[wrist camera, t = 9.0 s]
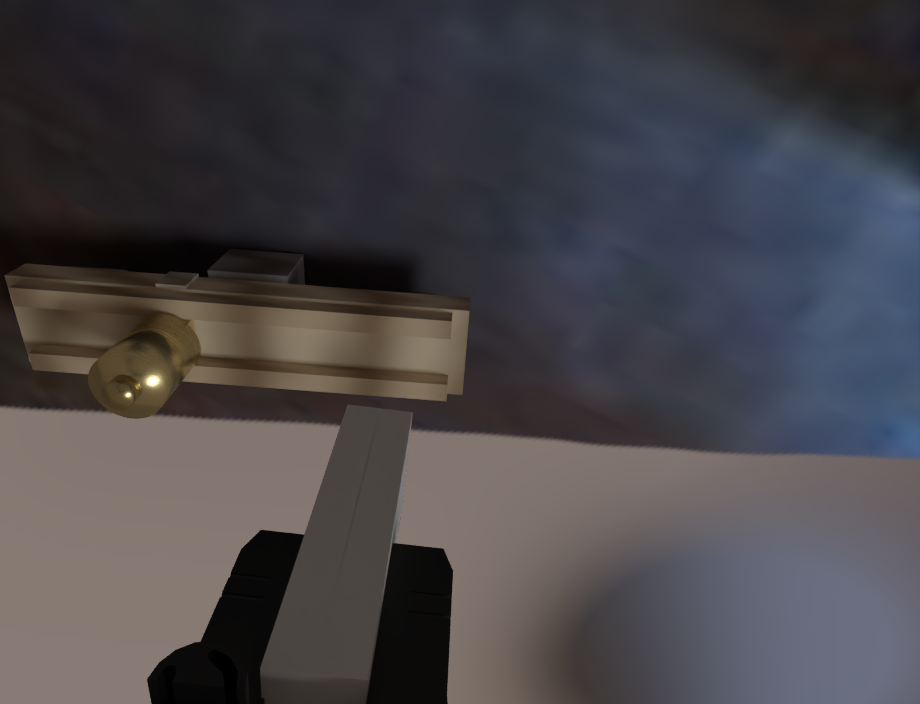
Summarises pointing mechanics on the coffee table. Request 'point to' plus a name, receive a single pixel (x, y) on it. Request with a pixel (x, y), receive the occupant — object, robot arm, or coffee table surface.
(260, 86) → the coffee table surface
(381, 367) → the stand
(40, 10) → the coffee table surface
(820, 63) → the coffee table surface
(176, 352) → the rider
